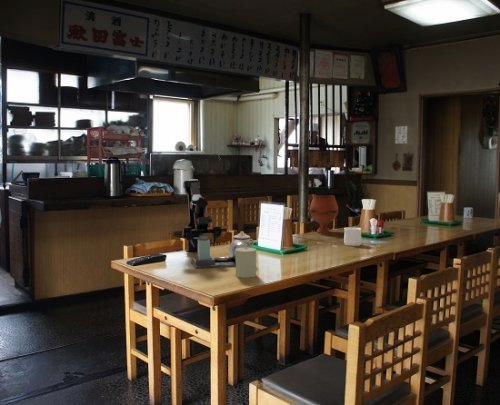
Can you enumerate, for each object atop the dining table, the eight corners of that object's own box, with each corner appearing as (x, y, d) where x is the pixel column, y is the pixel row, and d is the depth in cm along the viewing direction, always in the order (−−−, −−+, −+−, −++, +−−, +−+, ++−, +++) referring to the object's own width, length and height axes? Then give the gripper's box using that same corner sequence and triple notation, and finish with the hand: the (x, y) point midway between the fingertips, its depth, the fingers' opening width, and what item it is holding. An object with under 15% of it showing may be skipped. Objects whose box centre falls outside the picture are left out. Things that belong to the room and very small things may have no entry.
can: (255, 272, 217) (256, 246, 216) (256, 277, 208) (256, 250, 207) (235, 272, 217) (235, 246, 216) (235, 278, 208) (235, 250, 207)
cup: (362, 246, 280) (363, 229, 279) (345, 246, 280) (345, 229, 279) (359, 243, 289) (359, 227, 288) (342, 243, 290) (343, 227, 289)
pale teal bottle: (197, 261, 235) (197, 235, 233) (208, 260, 236) (207, 234, 235) (199, 263, 230) (199, 236, 229) (210, 263, 231) (209, 236, 230)
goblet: (343, 232, 328) (344, 195, 326) (321, 235, 318) (322, 197, 316) (325, 228, 344) (325, 193, 342) (303, 231, 334) (304, 195, 332)
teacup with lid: (239, 255, 253) (239, 233, 252) (230, 252, 261) (230, 231, 259) (258, 253, 260) (258, 231, 259) (248, 250, 267) (248, 229, 266)
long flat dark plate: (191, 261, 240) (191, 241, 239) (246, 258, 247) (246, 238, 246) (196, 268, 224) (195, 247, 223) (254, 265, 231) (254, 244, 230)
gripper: (182, 210, 232) (186, 237, 222) (221, 209, 237) (225, 235, 227) (181, 224, 240) (184, 250, 231) (218, 223, 245) (222, 249, 236)
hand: (204, 246), depth 231 cm, fingers open, 9 cm apart
